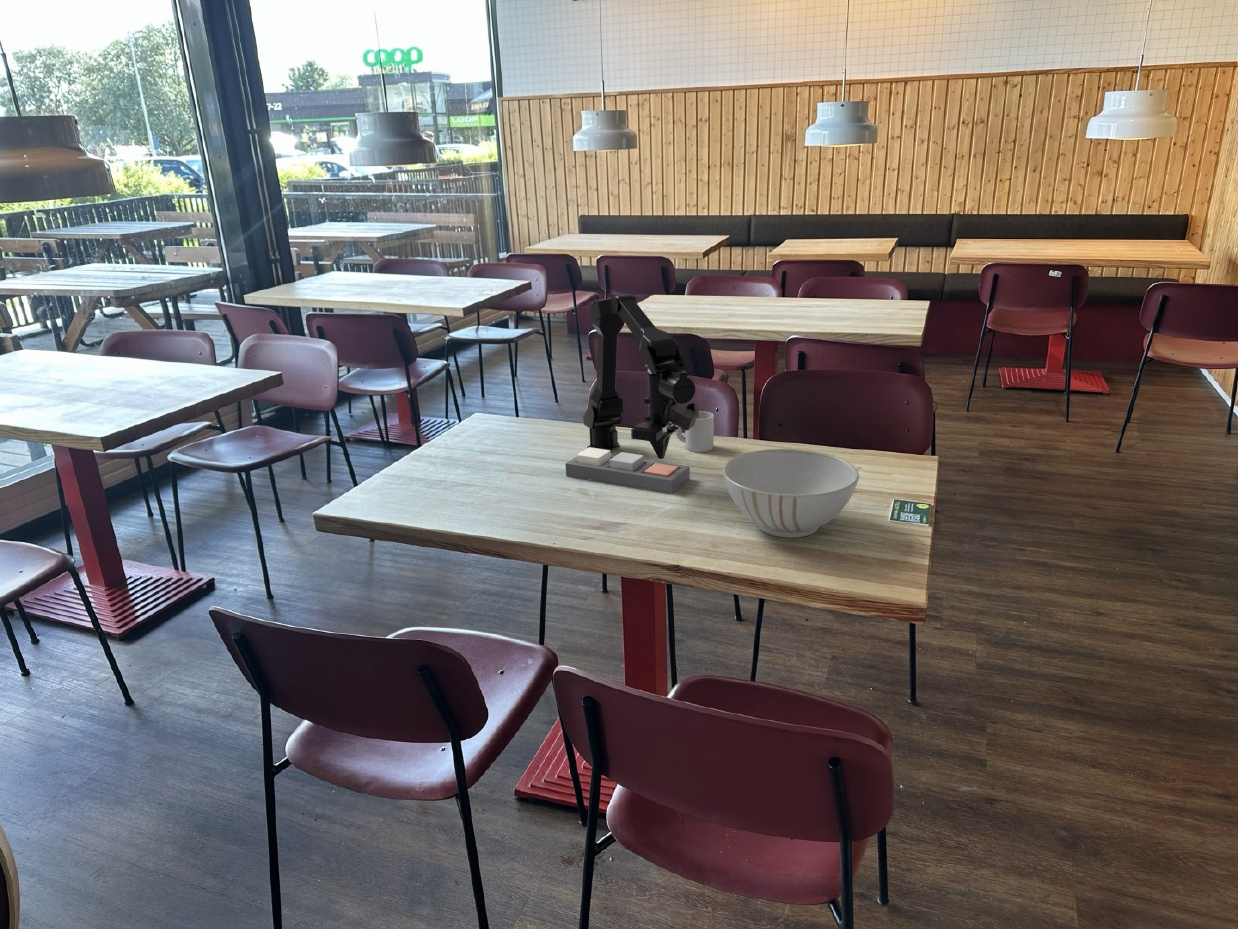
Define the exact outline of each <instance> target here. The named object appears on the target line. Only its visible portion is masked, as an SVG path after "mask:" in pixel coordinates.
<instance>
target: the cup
mask: <svg viewBox="0 0 1238 929" xmlns="http://www.w3.org/2000/svg"><path fill="white" fill-rule="evenodd" d="M698 412H699V418H697V419H696V422H695V425H694V426H693V427H691V428H690V429H689V430H684V431H685V434H684V435H683V432H682V430H683V429H681V427H679V426H677V425H675V426H676V427H679V428H678V429H677V430H676V431H675V435H676V437H677V440H679V441H680V442H681V443H684V444H685V449H686V450H687V449H688V450H689V452H691V451H693V452H692V453H698V452H701V453H707V452H710V451H712V450H713V448H714V440H715V439H714V438H715V437H714V433H715V432H714V431H715V430H714V427H715V425H714V422H715V421H714V418H715V417H714V416H715V415H714V413H712V412H710V411H700V410H698ZM688 450H687V451H688Z"/></svg>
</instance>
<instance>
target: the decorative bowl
mask: <svg viewBox="0 0 1238 929" xmlns="http://www.w3.org/2000/svg"><path fill="white" fill-rule="evenodd" d="M722 476H723V480H724V483H725V486H726V489H727V491H728V493H729V495H730V498H731V499H732V501H733V502H734V503H735V505H736V507H737V508H738V509H739V510H740V511H741V513H742V514H743V515H745V516H746V517H747V518H748V519H750V521H752V522H753V523H755V524H757V527H758V528H759V529H760V530H761V531H762V532H764V533H765V534H768V535H771V536H774V537H780V538H788V539H789V538H790V539H794V538H795V539H796V538H802V537H807V536H810V535H813V534H814V533H815V532H817V531H818V530H819V528H820V527H823V526H824V525H825V524H827V523H829V522H830V521H832V520H833V519H834V518H836V517H837V516H838V515H839V514H840V513H841V512H842V510H843V509H844V508H845V507H846V506H847V504H848V503H849V502H850V500H851V498H852V496H853V495H854V492H855V490H856V488H857V486H858V483H859V479H860V473H859V471H858V469H857V468H856V466H855V465H853V464H852V463H850V462H849V461H848V460H846V459H843V458H842V457H839V456H835V455H834V454H829V453H825V452H820V451H815V450H810V449H800V448H799V449H798V448H772V449H770V448H769V449H761V450H755V451H749V452H746V453H743V454H740V455H737V456H734V457H732V458H730V460H728V461H727V462H726V463H725V464H724V465H723V467H722Z"/></svg>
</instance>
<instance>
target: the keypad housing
mask: <svg viewBox="0 0 1238 929" xmlns="http://www.w3.org/2000/svg"><path fill="white" fill-rule="evenodd" d="M616 455H617V454H612V453H611V459H612V458H613V457H615V456H616ZM655 463H658V464H665V465H671V466H678V470H677V471H676V472H675V473H673V474H672V475H671V476H670V477H664V476H657V475H651V474H645V473H644V471H645V470H646V469H648V468H649V467H651V466H652V465H653V464H655ZM690 468H691V466H690V465H685V464H679V463H678V464H677V463H670V462H664V461H657V460H652V459H651V460H650V459H646V458H644V465H643V466H642V467H640V468H639V469H637V470H636V471H635V472H632V471H626V470H620V469H613V468H610V461H608V462H606V463H605V464H603V465H602V466H594V465H588V464H582V463H577V456H575V457H573V458H571V460H569V461H567V462H565V476H566V477H571V478H576V479H582V480H588V479H591V480H590V481H594V480H596V481H595V482H600V481H601V483H606V482H607V483H608V484H612V485H613V484H614V485H620V486H624V485H627V486H626V487H629V486H631V488H637V489H643V490H649V491H654V492H660V493H666V494H667V493H668V494H671V495H672V494H673V493H674V492H676V491H677V490H678V489H680V488H681V487H682V486H683V485H685V484H686V483H687V482H688V481H690V480H691V477H690V475H691V473H690V472H691V471H690V470H691V469H690ZM607 483H606V484H607Z"/></svg>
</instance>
